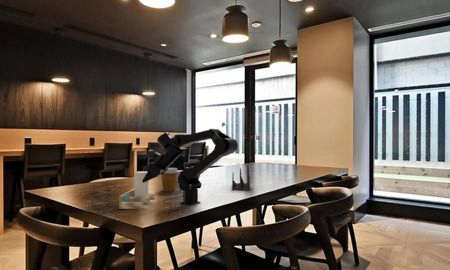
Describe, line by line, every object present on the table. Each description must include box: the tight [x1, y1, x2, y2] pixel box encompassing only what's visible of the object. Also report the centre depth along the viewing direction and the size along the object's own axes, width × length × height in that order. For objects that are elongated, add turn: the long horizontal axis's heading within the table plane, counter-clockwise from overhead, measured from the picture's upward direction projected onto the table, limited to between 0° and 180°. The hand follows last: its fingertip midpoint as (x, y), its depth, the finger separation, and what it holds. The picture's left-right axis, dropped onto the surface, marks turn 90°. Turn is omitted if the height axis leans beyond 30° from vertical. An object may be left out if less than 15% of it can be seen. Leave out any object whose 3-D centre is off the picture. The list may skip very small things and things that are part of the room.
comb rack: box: [118, 187, 156, 210], centre depth 129 cm, size 10×21×5 cm, turn 0°
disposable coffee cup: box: [160, 167, 179, 192], centre depth 161 cm, size 10×10×12 cm
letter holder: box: [231, 163, 251, 192], centre depth 172 cm, size 10×20×14 cm, turn 178°
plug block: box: [134, 171, 150, 197], centre depth 134 cm, size 5×5×13 cm
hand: (145, 180), depth 135 cm, fingers open, 9 cm apart
